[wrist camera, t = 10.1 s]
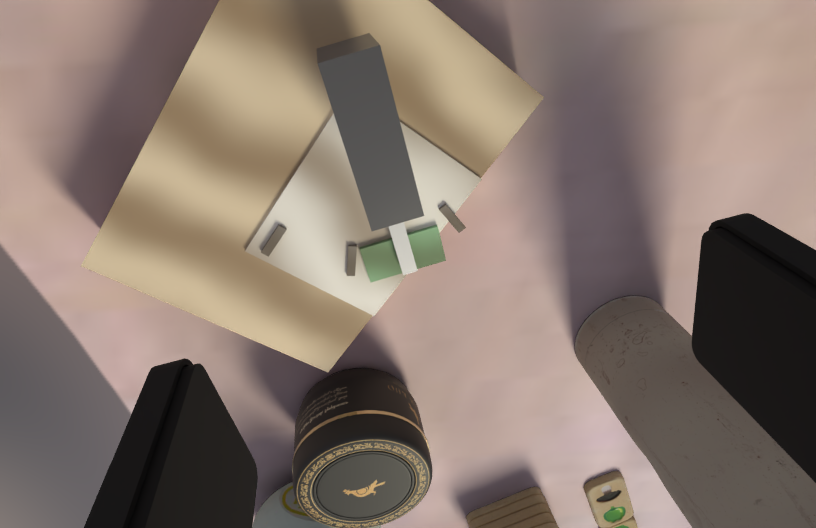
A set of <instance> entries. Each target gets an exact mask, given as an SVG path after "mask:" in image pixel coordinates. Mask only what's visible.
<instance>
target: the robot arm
mask: <svg viewBox="0 0 816 528" xmlns="http://www.w3.org/2000/svg"><path fill="white" fill-rule="evenodd" d="M692 350H693V353H694V355H695V357H696V359H697V360H698V362H699V363H700V364H701V365H702V366H703V367H704V368H705V369H706V370H707V371H708V372H709V373H710V374H711V375H712V376H713V377H714V378H715V380H716V381H717V382H718V383H719V384H720V385H721V386H722V387H723V388H724V389H725V390H726V391H727V392H728V393H729V394H730V395H731V396H732V397H733V398H734V399H735V400H736V401H737V402H738V403H739V404H740V405H741V406H742V407H743V408H744V409H745V410H746V412H747V413H748V414H749V415H750V416H751V417H752V418H753V419H754V420H755V421H756V422H757V423H758V424H759V425H760V426H761V427H762V428H763V429H764V430H765V431H766V432H767V433H768V434H769V435H770V436H771V437H772V438H773V439H774V440H775V441H776V443H777V444H778V445H779V446H780V447H781V448H782V449H783V450H784V451H785V452H786V453H787V454H788V455H789V456H790V457H791V458H792V459H793V460H794V461H795V462H796V463H797V464H798V465H799V466H800V467H801V468H802V469H803V470H804V471H805V472H806V474H807V475H808V476H809V477H810V478H811V479H812V480H813V481H814V482H815V483H816V250H814V249H813V248H811V247H809V246H807V245H806V244H804V243H802V242H800V241H799V240H797V239H795V238H793V237H791V236H790V235H788V234H786V233H784V232H783V231H781V230H779V229H777V228H776V227H774V226H772V225H770V224H769V223H767V222H765V221H763V220H761V219H760V218H758V217H756V216H754V215H752V214H749V213H746V214H740V215H737V216H733V217H729V218H725V219H721V220H717V221H715V222H713V223H712V224H711V226H710V227H709V231H707V232H705V233H704V234H703V236H702V240H701V251H700V261H699V271H698V282H697V292H696V302H695V313H694V323H693V333H692ZM257 478H258V476H257V468H256V464H255V461H254V459H253V457H252V455H251V453H250V451H249V449H248V448H247V446H246V444H245V442H244V440H243V438H242V437H241V435H240V433H239V431H238V429H237V427H236V425H235V424H234V422H233V420H232V418H231V416H230V414H229V413H228V411H227V409H226V407H225V405H224V403H223V402H222V400H221V398H220V396H219V394H218V392H217V390H216V389H215V387H214V385H213V383H212V381H211V379H210V378H209V376H208V374H207V372H206V370H205V369H204V367H203V366H202V365H201V364H194V365H193V364H192V362H191V361H190V360H188V359H181V360H177V361H174V362H170V363H166V364H162V365H158V366H155V367H153V368H152V369H151V370H150V372H149V374H148V376H147V379H146V381H145V383H144V386H143V388H142V391H141V393H140V395H139V398H138V400H137V403H136V405H135V407H134V410H133V412H132V414H131V417H130V419H129V422H128V424H127V426H126V429H125V431H124V434H123V436H122V438H121V441H120V443H119V446H118V448H117V451H116V453H115V455H114V458H113V460H112V462H111V465H110V466H109V469H108V471H107V474H106V476H105V479H104V481H103V483H102V485H101V488H100V490H99V493H98V495H97V497H96V500H95V502H94V505H93V507H92V510H91V512H90V514H89V517H88V519H87V521H86V524H85V526H84V528H252V523H253V514H254V506H255V497H256V489H257Z"/></svg>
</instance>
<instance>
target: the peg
mask: <svg viewBox="0 0 816 528" xmlns="http://www.w3.org/2000/svg"><path fill="white" fill-rule="evenodd" d="M317 64H318V67H319V70H320V73H321V76H322V79H323V82H324V85H325V88H326V91H327V95H328V98H329V101H330V104H331V107H332V110H333V113H334V116H335V119H336V122H337V125H338V129H339V132H340V135H341V138H342V141H343V144H344V147H345V150H346V153H347V156H348V160H349V163H350V166H351V169H352V172H353V175H354V178H355V181H356V184H357V187H358V191H359V194H360V197H361V200H362V203H363V206H364V209H365V212H366V215H367V218H368V222H369V225H370V228H371V231H375V230H379V229H382V228H385V227H389V230H390V233H391V237H392V240H393V243H394V247H395V250H396V253H397V257H398V260H399V263H400V267H401V270H402V273H403V275H406V274H409V273H413V272H416V271H418V270H417V267H416V263H415V260H414V256H413V253H412V249H411V246H410V242H409V239H408V235H407V231H406V228H405V224H404V222H405V221H409V220H412V219H415V218H419V217H422V216H424V213H423V209H422V205H421V201H420V197H419V193H418V190H417V186H416V182H415V178H414V174H413V170H412V166H411V162H410V159H409V155H408V151H407V147H406V143H405V139H404V135H403V132H402V128H401V124H400V120H399V116H398V112H397V108H396V104H395V101H394V97H393V93H392V89H391V85H390V81H389V77H388V73H387V70H386V66H385V62H384V58H383V54H382V50H381V46H380V44H379V43H378V42H377V41H376V40H375V39H374V38H373V36H372V35H371V34H370V33H367V34H364V35H361V36H357V37H354V38H350V39H347V40H344V41H340V42H337V43H334V44H330V45H327V46H323V47H320V48H317Z"/></svg>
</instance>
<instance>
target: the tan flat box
mask: <svg viewBox="0 0 816 528" xmlns="http://www.w3.org/2000/svg"><path fill="white" fill-rule="evenodd" d="M367 33H370V34H371V35H372V36H373V38H374V39H375V40H376V41H377V42H378V43H379V44H380V46H381V50H382V54H383V58H384V62H385V66H386V70H387V73H388V77H389V81H390V85H391V89H392V93H393V97H394V101H395V104H396V108H397V112H398V116H399V120H400V124H401V128H402V132H403V135H404V139H405V143H406V147H407V151H408V155H409V159H410V162H411V166H412V170H413V174H414V178H415V182H416V186H417V190H418V193H419V197H420V201H421V205H422V209H423V213H424V216H422V217H419V218H415V219H412V220H409V221H405V222H404V224H405V228H406V231H407V235H408V239H409V242H410V246H411V249H412V253H413V256H414V260H415V263H416V267H417V269H419V268H422V267H425V266H429V265H432V264H436V263H439V262H442V261H446V259H445V255H444V251H443V246H442V242H441V238H440V234H439V233H440V232H441V230H442V229H443V228H444V227H445V225H446V224H447V223H448V222H450V223H451V224H452V225H453V227H454V228H455V229H456V230H457V231H458V232H459V233H460V232H461V231H462V230H463V229H465V228H466V227H465V226H464V225H463V224H462V222H461V221H460V220H459V219H458V218H457V216H456V215H455V213H456V211H457V210H458V209H459V208H460V206H461V205H462V204H463V202H464V201H465V200H466V199H467V197H468V196H469V195H470V194H471V192H472V191H473V190H474V189H475V187H476V186H477V185H478V183H479V182H480V181H481V180H482V179H481V177H482V176H483V175H484V173H485V172H486V171H487V170H488V168H489V167H490V166H491V164H492V163H493V162H494V161H495V159H496V158H497V157H498V156H499V154H500V153H501V152H502V150H503V149H504V148H505V147H506V145H507V144H508V143H509V142H510V140H511V139H512V138H513V136H514V135H515V134H516V133H517V131H518V130H519V129H520V128H521V126H522V125H523V124H524V122H525V121H526V120H527V119H528V117H529V116H530V115H531V114H532V112H533V111H534V110H535V108H536V107H537V106H538V105H539V103H540V102H541V101H542V100H543V98H544V97H543V96H542V95H540V94H539V93H538V92H537V91H536V90H534V89H533V88H532V87H531V86H530V85H528V84H527V83H526V82H525V81H524V80H523V79H521V78H520V77H519V76H518V75H517V74H515V73H514V72H513V71H512V70H511V69H509V68H508V67H507V66H506V65H505V64H504V63H502V62H501V61H500V60H499V59H498V58H496V57H495V56H494V55H493V54H492V53H490V52H489V51H488V50H487V49H486V48H484V47H483V46H482V45H481V44H480V43H479V42H477V41H476V40H475V39H474V38H473V37H471V36H470V35H469V34H468V33H467V32H465V31H464V30H463V29H462V28H461V27H459V26H458V25H457V24H456V23H455V22H454V21H452V20H451V19H450V18H449V17H448V16H446V15H445V14H444V13H443V12H442V11H440V10H439V9H438V8H437V7H436V6H434V5H433V4H432V3H431V2H430V1H429V0H219V2H218V4H217V6H216V7H215V9H214V11H213V13H212V15H211V17H210V19H209V21H208V23H207V25H206V27H205V29H204V31H203V32H202V34H201V36H200V38H199V40H198V42H197V44H196V46H195V48H194V50H193V52H192V54H191V56H190V57H189V59H188V61H187V63H186V65H185V67H184V69H183V71H182V73H181V75H180V77H179V79H178V81H177V82H176V84H175V86H174V88H173V90H172V92H171V94H170V96H169V98H168V100H167V102H166V104H165V106H164V108H163V109H162V111H161V113H160V115H159V117H158V119H157V121H156V123H155V125H154V127H153V129H152V131H151V133H150V134H149V136H148V138H147V140H146V142H145V144H144V146H143V148H142V150H141V152H140V154H139V156H138V158H137V159H136V161H135V163H134V165H133V167H132V169H131V171H130V173H129V175H128V177H127V179H126V181H125V183H124V184H123V186H122V188H121V190H120V192H119V194H118V196H117V198H116V200H115V202H114V204H113V206H112V208H111V210H110V211H109V213H108V215H107V217H106V219H105V221H104V223H103V225H102V227H101V229H100V231H99V233H98V235H97V236H96V238H95V240H94V242H93V244H92V246H91V248H90V250H89V252H88V254H87V256H86V258H85V260H84V261H83V263H82V265H81V266H82V267H84V268H87V269H89V270H91V271H94V272H96V273H98V274H101V275H103V276H105V277H107V278H110V279H112V280H114V281H117V282H119V283H121V284H124V285H126V286H128V287H131V288H133V289H135V290H138V291H140V292H142V293H145V294H147V295H149V296H152V297H154V298H156V299H158V300H161V301H163V302H165V303H168V304H170V305H172V306H175V307H177V308H179V309H182V310H184V311H186V312H189V313H191V314H193V315H196V316H198V317H200V318H203V319H205V320H207V321H210V322H212V323H214V324H216V325H219V326H221V327H223V328H226V329H228V330H230V331H233V332H235V333H237V334H240V335H242V336H244V337H247V338H249V339H251V340H254V341H256V342H258V343H261V344H263V345H265V346H267V347H270V348H272V349H274V350H277V351H279V352H281V353H284V354H286V355H288V356H291V357H293V358H295V359H298V360H300V361H302V362H305V363H307V364H309V365H312V366H314V367H316V368H319V369H321V370H323V371H325V372H329V371H330V369H331V368H332V367H333V366H334V364H335V363H336V362H337V360H338V359H339V358H340V357H341V355H342V354H343V353H344V352H345V350H346V349H347V348H348V346H349V345H350V344H351V343H352V341H353V340H354V339H355V338H356V336H357V335H358V334H359V332H360V331H361V330H362V329H363V327H364V326H365V325H366V324H367V322H368V321H369V320H370V318H371V317H372V316H375V314H376V313H377V312H378V310H379V309H380V308H381V307H382V305H383V304H384V303H385V302H386V300H387V299H388V298H389V297H390V295H391V294H392V293H393V291H394V290H395V289H396V288H397V286H398V285H399V284H400V283H401V281H402V280H403V279H404V277H405V276H406V275H407V274H406V275H403V273H402V270H401V267H400V263H399V260H398V257H397V253H396V250H395V247H394V243H393V240H392V237H391V233H390V230H389V227H385V228H382V229H379V230H375V231H371V228H370V225H369V222H368V218H367V215H366V212H365V209H364V206H363V203H362V200H361V197H360V194H359V191H358V187H357V184H356V181H355V178H354V175H353V172H352V169H351V166H350V163H349V160H348V156H347V153H346V150H345V147H344V144H343V141H342V138H341V135H340V132H339V129H338V125H337V122H336V119H335V116H334V113H333V110H332V107H331V104H330V101H329V98H328V95H327V91H326V88H325V85H324V82H323V79H322V76H321V73H320V70H319V67H318V64H317V48H320V47H323V46H327V45H330V44H334V43H337V42H340V41H344V40H347V39H350V38H354V37H357V36H361V35H364V34H367Z"/></svg>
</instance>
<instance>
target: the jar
mask: <svg viewBox="0 0 816 528" xmlns="http://www.w3.org/2000/svg"><path fill="white" fill-rule="evenodd" d="M292 474H293V491H294V495H295V499H296V501H297V503H298V505H299V506H300V508H301V509H302V510H303V511H304V512H305V513H306V514H307V515H308V516H309V517H311V518H312V519H314V520H316V521H317V522H320V523H322V524H325V525H328V526H331V527H336V528H370V527H375V526H379V525H383V524H386V523H388V522H391V521H393V520H395V519H398V518H399V517H401V516H403V515H405V514H406V513H408V512H409V511H410V510H412V509H413V508H414V507H415V506H416V505H417V504H418V503H419V502H420V501H421V500H422V499H423V497H424V496H425V495H426V493H427V491H428V489H429V486H430V483H431V480H432V463H431V458H430V451H429V445H428V442H427V439H426V437H425V435H424V431H423V427H422V423H421V418H420V414H419V411H418V407H417V405H416V403H415V401H414V399H413V397H412V396H411V394H410V393H409V391H408V390H407V388H406V387H405V386H404V385H403V383H401V382H400V381H399V380H398V379H397V378H395V377H393V376H392V375H390V374H387V373H385V372H382V371H378V370H374V369H366V368H357V369H349V370H344V371H341V372H338V373H335V374H333V375H331V376H329V377H327V378H325V379H323V380H322V381H320V382H319V383H318V384H316V385H315V386H314V387H313V388H312V389H311V390H310V391H309V393H308V394H307V395H306V397H305V399H304V401H303V403H302V405H301V408H300V410H299V413H298V416H297V419H296V425H295V444H294V456H293V461H292Z"/></svg>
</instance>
